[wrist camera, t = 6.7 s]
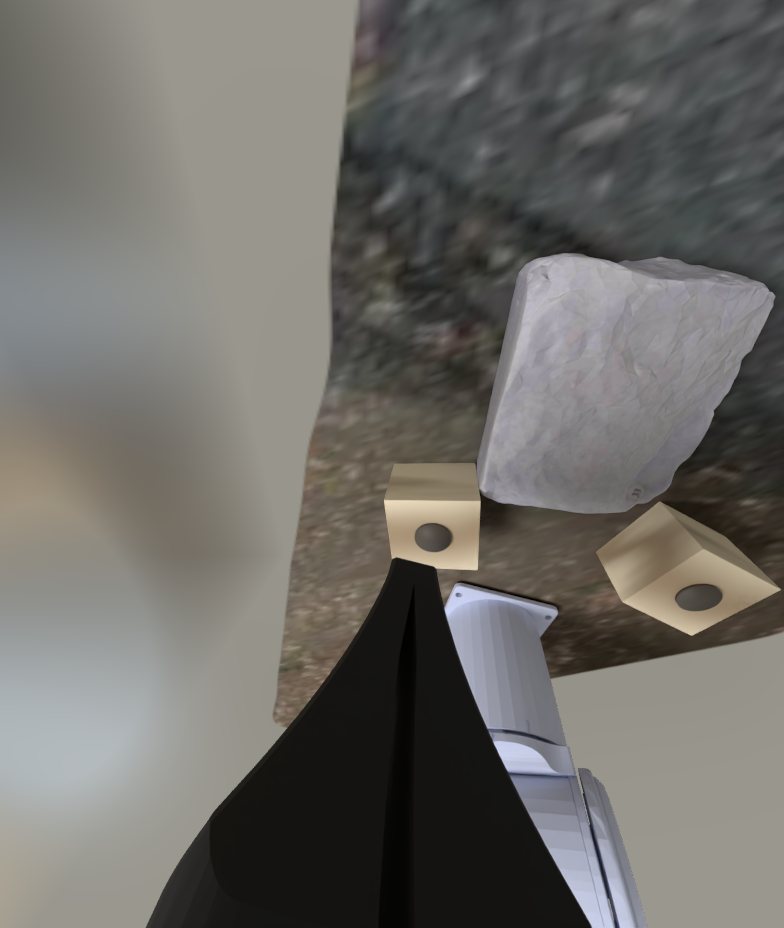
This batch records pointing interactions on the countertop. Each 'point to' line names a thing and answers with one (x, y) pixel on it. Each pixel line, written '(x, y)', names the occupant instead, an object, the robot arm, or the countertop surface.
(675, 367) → the stone block
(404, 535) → the beech block
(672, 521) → the beech block
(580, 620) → the countertop surface
